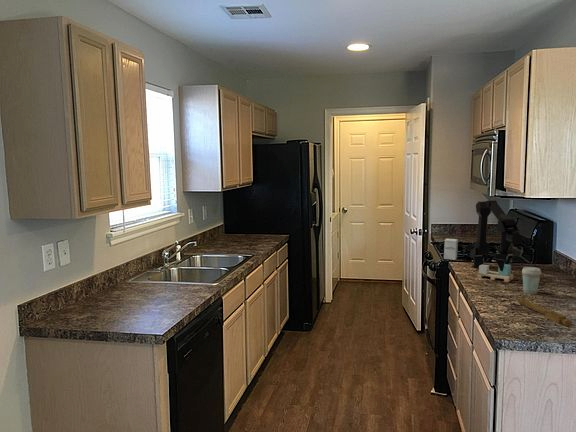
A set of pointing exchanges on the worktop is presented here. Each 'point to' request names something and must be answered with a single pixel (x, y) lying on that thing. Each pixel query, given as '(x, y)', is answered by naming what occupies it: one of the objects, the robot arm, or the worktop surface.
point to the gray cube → (484, 269)
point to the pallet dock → (496, 276)
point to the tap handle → (546, 312)
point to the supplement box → (450, 249)
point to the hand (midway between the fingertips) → (504, 269)
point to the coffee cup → (531, 279)
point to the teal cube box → (505, 270)
